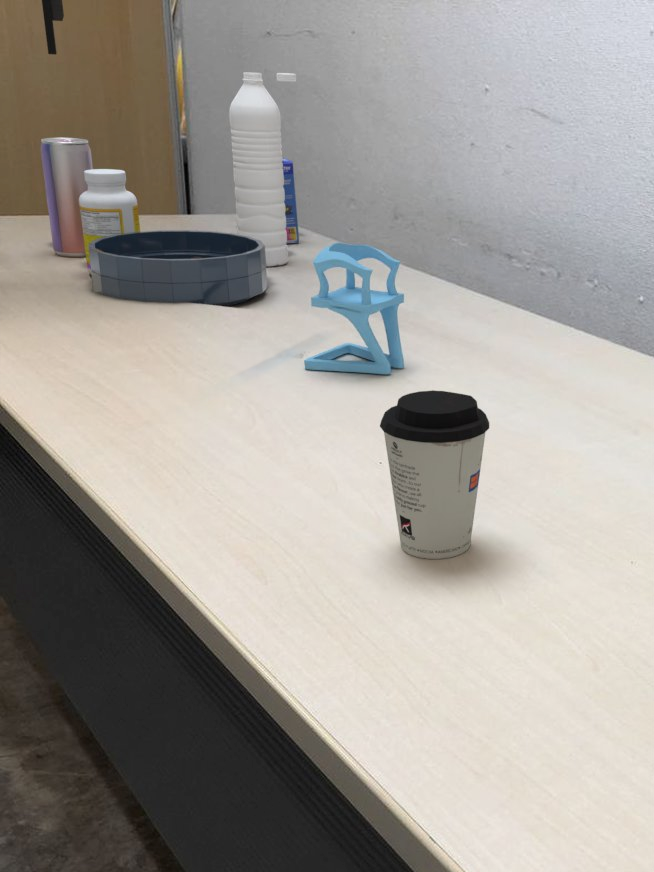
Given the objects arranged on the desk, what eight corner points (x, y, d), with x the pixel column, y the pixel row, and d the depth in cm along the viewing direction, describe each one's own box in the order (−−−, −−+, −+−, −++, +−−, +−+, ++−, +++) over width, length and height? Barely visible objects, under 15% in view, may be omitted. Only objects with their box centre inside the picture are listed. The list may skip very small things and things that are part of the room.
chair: (376, 381, 108) (373, 257, 103) (302, 368, 110) (296, 246, 106) (416, 362, 115) (415, 245, 110) (346, 350, 117) (342, 235, 113)
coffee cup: (386, 570, 71) (383, 421, 67) (378, 525, 77) (375, 387, 73) (496, 563, 73) (498, 417, 69) (479, 520, 79) (481, 384, 75)
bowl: (57, 301, 128) (50, 249, 126) (157, 271, 146) (152, 225, 144) (212, 319, 125) (208, 266, 123) (295, 286, 143) (292, 239, 141)
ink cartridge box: (239, 234, 174) (232, 137, 169) (274, 232, 177) (268, 137, 172) (264, 245, 167) (258, 145, 162) (300, 243, 170) (295, 144, 165)
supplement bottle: (123, 266, 148) (112, 166, 143) (156, 274, 145) (146, 172, 140) (76, 273, 142) (63, 169, 138) (109, 282, 139) (97, 175, 134)
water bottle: (238, 267, 152) (225, 71, 143) (239, 257, 158) (226, 69, 148) (305, 267, 154) (296, 75, 145) (304, 258, 160) (295, 72, 151)
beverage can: (43, 254, 151) (28, 139, 146) (74, 247, 157) (61, 136, 151) (82, 259, 150) (68, 143, 145) (111, 252, 156) (99, 140, 150)
